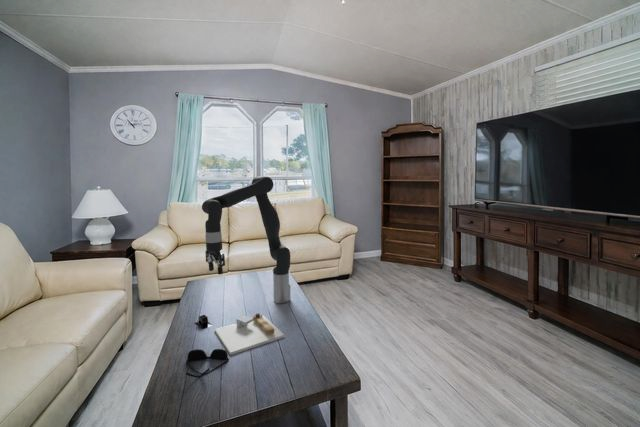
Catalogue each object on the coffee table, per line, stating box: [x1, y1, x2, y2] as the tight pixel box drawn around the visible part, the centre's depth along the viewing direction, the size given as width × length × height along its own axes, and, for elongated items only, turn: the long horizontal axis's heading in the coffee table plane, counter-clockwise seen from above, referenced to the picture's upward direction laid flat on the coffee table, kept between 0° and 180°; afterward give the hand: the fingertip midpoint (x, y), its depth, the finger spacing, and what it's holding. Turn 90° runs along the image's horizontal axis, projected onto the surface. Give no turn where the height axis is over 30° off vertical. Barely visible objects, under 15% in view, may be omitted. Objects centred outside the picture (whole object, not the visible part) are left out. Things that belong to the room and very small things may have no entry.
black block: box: [193, 314, 213, 330], centre depth 150 cm, size 12×7×5 cm, turn 46°
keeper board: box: [214, 314, 285, 356], centre depth 140 cm, size 25×24×6 cm
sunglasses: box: [185, 348, 230, 379], centre depth 114 cm, size 17×14×5 cm
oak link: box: [252, 312, 274, 335], centre depth 145 cm, size 18×4×3 cm, turn 34°
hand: (215, 272), depth 149 cm, fingers open, 8 cm apart
